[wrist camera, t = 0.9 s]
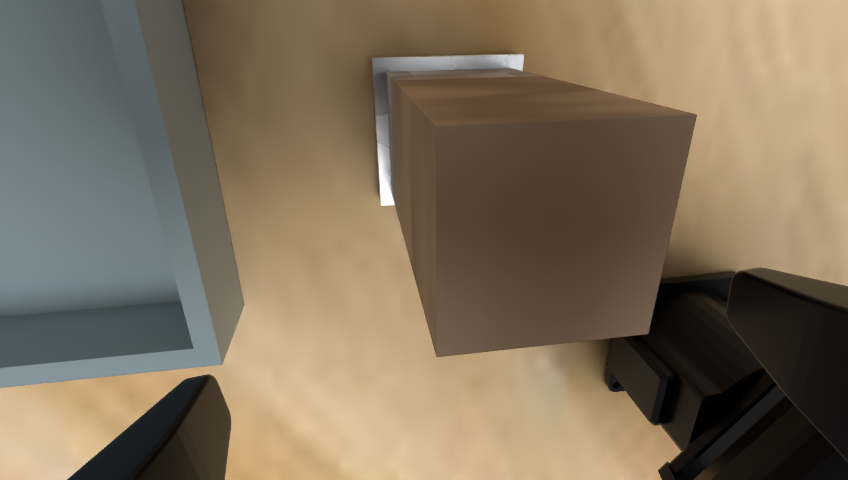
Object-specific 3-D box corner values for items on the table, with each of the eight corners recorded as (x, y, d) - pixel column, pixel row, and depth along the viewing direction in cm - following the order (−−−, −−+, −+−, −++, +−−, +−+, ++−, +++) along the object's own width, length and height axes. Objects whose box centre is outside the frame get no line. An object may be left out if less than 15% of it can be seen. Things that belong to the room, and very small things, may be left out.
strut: (510, 68, 17) (696, 115, 8) (504, 187, 19) (648, 334, 10) (386, 71, 16) (435, 126, 7) (391, 194, 18) (436, 357, 9)
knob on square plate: (514, 53, 18) (550, 58, 15) (506, 189, 20) (535, 218, 17) (371, 56, 17) (376, 63, 14) (379, 197, 19) (385, 229, 16)
